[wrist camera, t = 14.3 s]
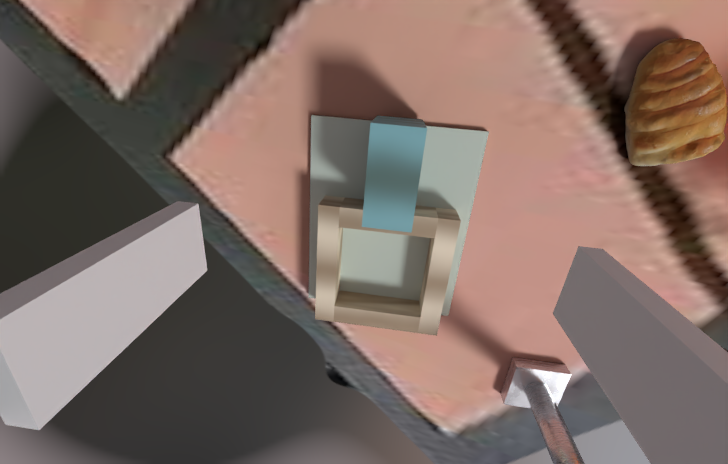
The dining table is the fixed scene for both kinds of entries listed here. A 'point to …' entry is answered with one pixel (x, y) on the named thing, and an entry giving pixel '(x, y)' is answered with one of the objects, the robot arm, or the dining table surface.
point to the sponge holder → (388, 215)
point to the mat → (436, 189)
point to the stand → (543, 403)
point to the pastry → (675, 105)
